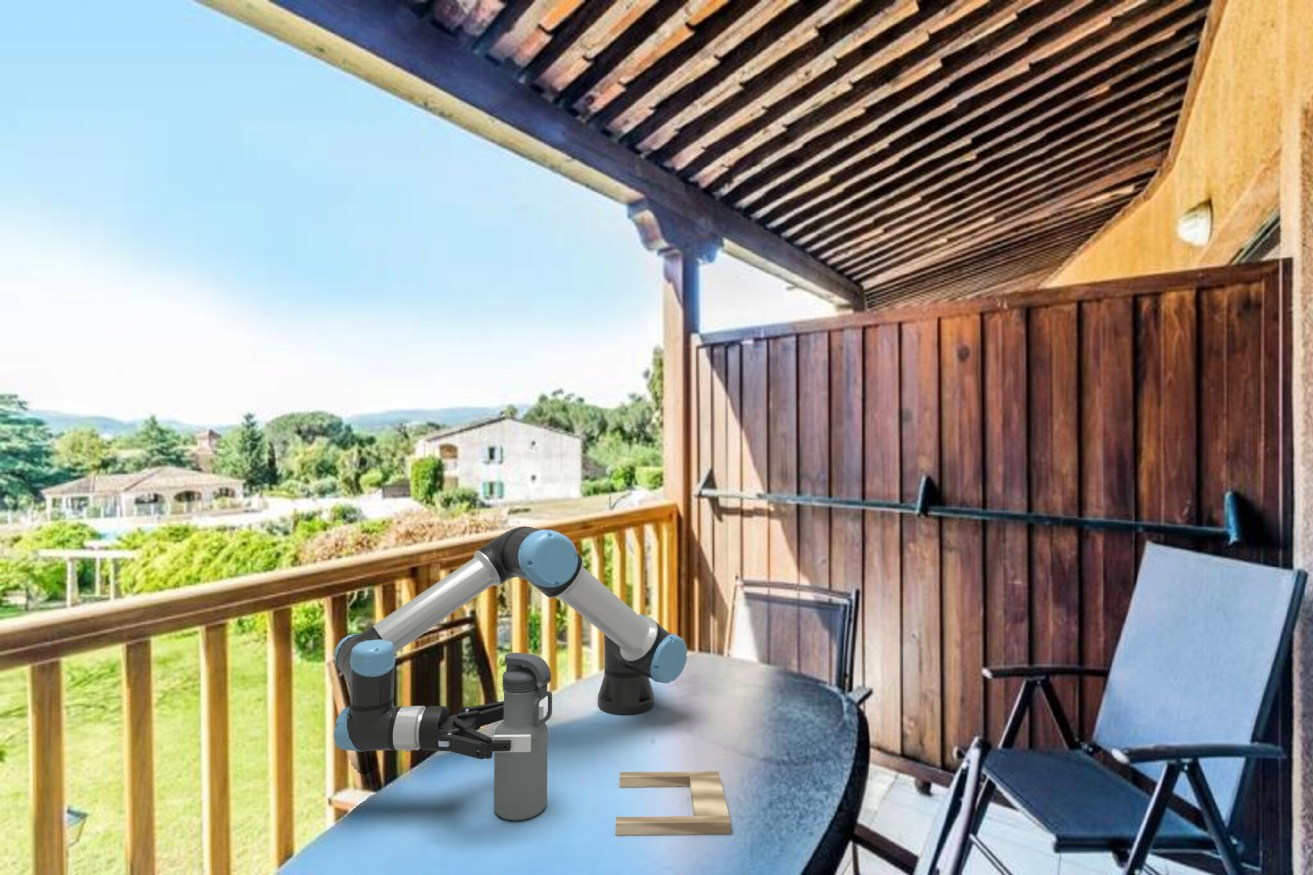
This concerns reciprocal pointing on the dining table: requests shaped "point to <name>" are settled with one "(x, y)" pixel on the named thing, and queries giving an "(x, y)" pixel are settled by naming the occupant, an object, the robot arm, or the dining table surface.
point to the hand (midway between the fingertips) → (537, 726)
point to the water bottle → (523, 772)
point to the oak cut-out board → (706, 817)
